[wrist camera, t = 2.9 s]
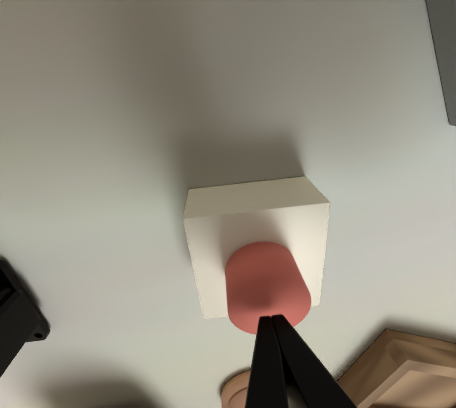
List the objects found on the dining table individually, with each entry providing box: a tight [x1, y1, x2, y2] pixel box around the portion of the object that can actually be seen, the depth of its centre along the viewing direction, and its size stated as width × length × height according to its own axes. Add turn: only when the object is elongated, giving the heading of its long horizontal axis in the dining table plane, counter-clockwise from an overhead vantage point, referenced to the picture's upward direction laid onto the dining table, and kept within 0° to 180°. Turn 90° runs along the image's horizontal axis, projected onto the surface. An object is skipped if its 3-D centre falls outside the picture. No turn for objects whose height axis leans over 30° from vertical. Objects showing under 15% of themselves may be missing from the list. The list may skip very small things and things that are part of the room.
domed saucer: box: [221, 370, 251, 408], centre depth 21 cm, size 7×7×1 cm
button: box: [225, 242, 311, 334], centre depth 10 cm, size 3×3×2 cm
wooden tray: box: [337, 329, 456, 408], centre depth 21 cm, size 14×10×2 cm
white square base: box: [183, 176, 330, 319], centre depth 13 cm, size 6×6×3 cm
